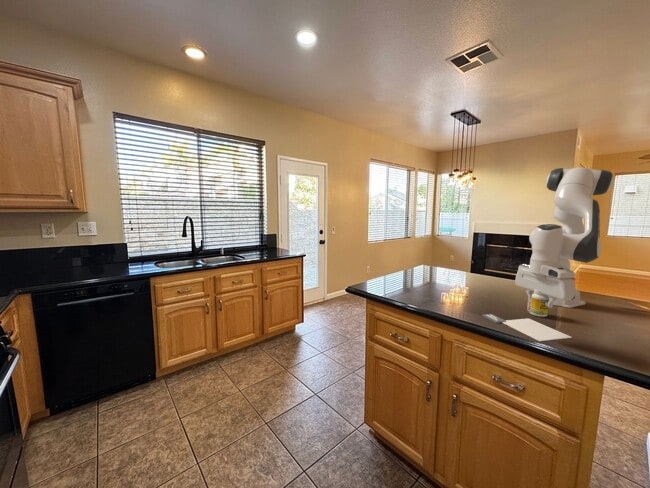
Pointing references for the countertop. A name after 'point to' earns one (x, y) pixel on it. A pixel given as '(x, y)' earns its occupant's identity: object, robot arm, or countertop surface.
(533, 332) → the paper sheet
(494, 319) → the word card
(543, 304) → the supplement bottle
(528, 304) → the soda can
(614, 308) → the countertop surface
